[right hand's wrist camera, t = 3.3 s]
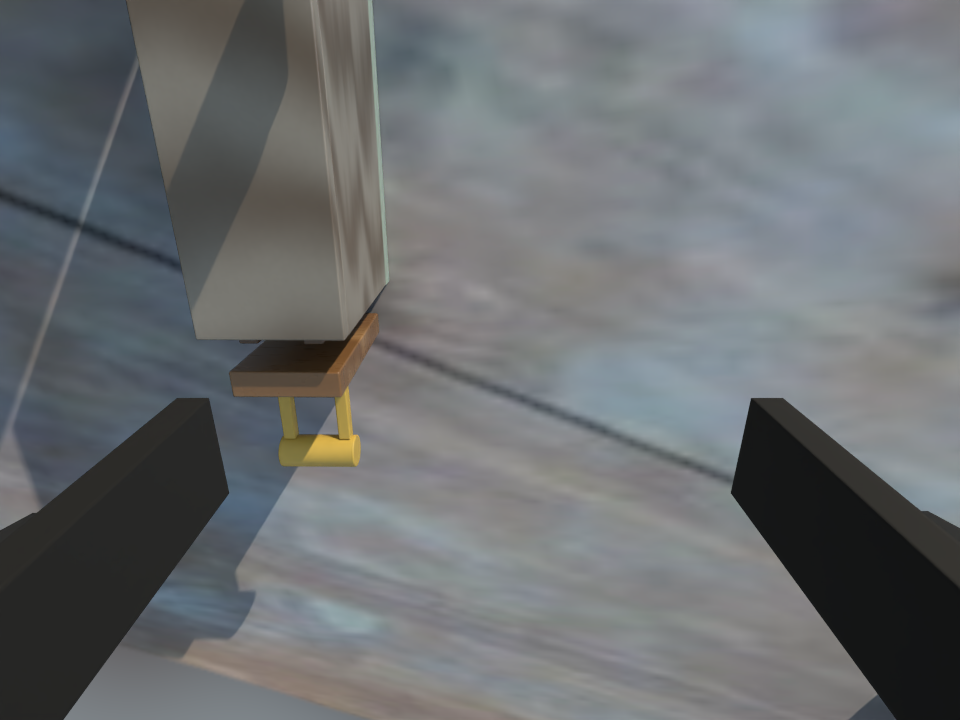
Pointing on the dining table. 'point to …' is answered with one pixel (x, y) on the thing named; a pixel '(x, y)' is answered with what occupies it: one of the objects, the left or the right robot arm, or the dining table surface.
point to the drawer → (309, 389)
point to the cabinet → (268, 160)
